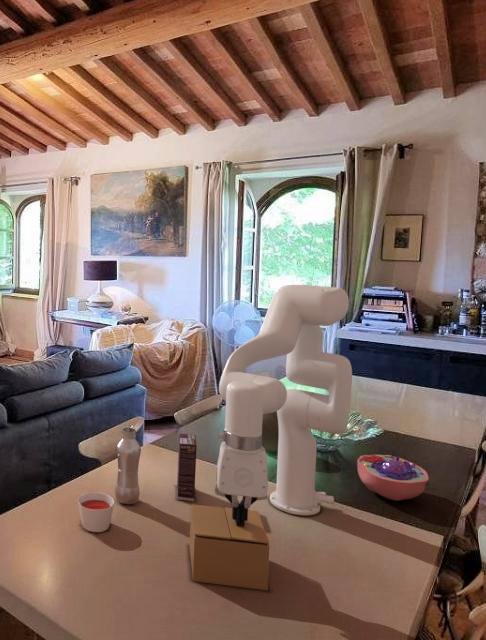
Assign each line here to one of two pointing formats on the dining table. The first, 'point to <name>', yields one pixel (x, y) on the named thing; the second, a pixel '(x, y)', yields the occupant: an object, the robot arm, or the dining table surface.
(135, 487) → the silver metal bottle
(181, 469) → the supplement box
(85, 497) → the white cup
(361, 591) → the dining table surface
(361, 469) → the cell model
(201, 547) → the carton
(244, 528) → the flap
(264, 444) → the dark brown egg shape
